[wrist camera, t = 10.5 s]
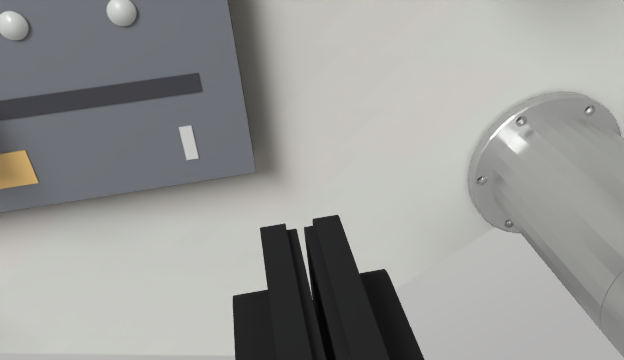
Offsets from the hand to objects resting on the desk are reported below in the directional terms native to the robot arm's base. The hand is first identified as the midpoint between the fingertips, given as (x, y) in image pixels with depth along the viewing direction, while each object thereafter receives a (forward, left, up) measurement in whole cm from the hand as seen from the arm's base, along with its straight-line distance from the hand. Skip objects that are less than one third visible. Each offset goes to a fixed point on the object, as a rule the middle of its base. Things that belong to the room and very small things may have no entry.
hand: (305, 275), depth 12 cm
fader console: (+13, +4, -27) cm, 30 cm away
